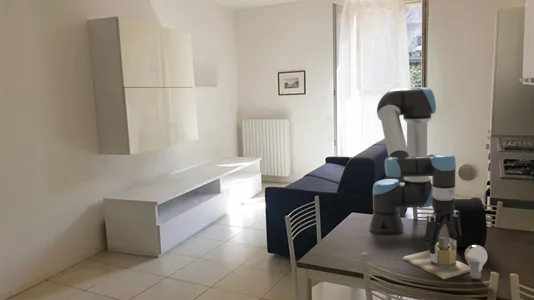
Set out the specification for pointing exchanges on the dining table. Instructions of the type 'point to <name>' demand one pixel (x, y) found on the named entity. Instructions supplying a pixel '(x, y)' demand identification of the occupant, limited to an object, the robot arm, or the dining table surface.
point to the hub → (447, 254)
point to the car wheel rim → (471, 222)
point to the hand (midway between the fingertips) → (443, 258)
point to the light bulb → (475, 259)
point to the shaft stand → (435, 268)
